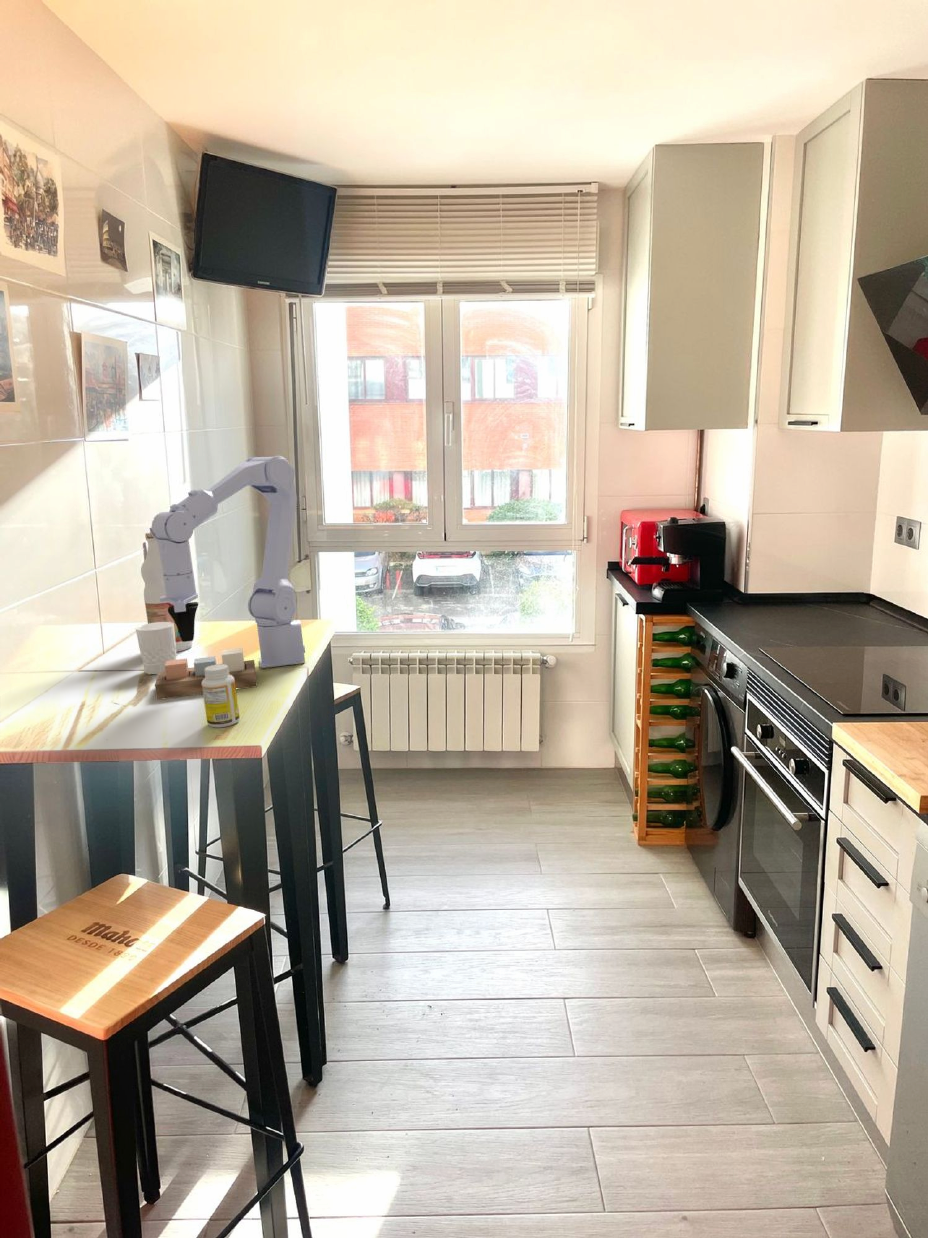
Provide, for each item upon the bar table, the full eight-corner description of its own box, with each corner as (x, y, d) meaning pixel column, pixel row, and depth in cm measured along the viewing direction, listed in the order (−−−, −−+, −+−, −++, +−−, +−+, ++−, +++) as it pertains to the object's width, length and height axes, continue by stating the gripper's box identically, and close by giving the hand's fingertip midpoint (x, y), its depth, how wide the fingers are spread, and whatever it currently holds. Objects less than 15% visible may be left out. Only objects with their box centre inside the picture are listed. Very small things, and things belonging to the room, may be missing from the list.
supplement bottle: (227, 716, 164) (220, 661, 162) (246, 721, 160) (239, 665, 158) (200, 725, 160) (193, 669, 158) (219, 730, 156) (212, 673, 154)
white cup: (168, 675, 194) (161, 630, 192) (135, 676, 196) (128, 630, 194) (186, 665, 202) (180, 621, 200) (154, 665, 204) (147, 622, 201)
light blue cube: (217, 675, 186) (215, 656, 185) (217, 680, 182) (214, 661, 181) (197, 677, 185) (194, 658, 184) (196, 683, 182) (193, 663, 181)
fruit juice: (153, 646, 222) (137, 532, 216) (194, 642, 224) (178, 528, 218) (150, 656, 213) (132, 536, 207) (191, 651, 215) (175, 532, 209)
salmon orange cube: (189, 677, 185) (186, 658, 184) (188, 682, 181) (185, 663, 180) (169, 680, 184) (166, 660, 183) (167, 685, 180) (164, 665, 179)
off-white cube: (244, 666, 187) (242, 648, 186) (244, 671, 183) (242, 652, 182) (224, 669, 186) (222, 650, 185) (224, 674, 182) (221, 655, 182)
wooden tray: (255, 673, 191) (254, 659, 190) (256, 686, 181) (254, 671, 181) (161, 685, 187) (159, 671, 186) (156, 699, 177) (154, 684, 177)
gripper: (160, 569, 185) (170, 635, 188) (153, 581, 171) (164, 651, 174) (196, 566, 186) (205, 630, 189) (192, 577, 172) (202, 647, 175)
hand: (188, 640), depth 182 cm, fingers closed
